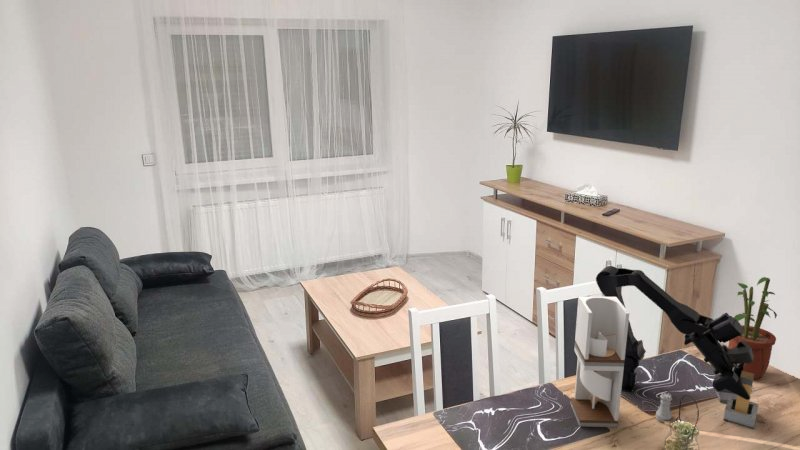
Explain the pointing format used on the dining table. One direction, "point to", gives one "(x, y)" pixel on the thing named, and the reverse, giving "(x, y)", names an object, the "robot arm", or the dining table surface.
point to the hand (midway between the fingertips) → (749, 395)
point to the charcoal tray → (725, 395)
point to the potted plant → (755, 331)
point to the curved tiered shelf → (599, 360)
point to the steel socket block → (740, 414)
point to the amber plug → (747, 383)
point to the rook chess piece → (664, 408)
